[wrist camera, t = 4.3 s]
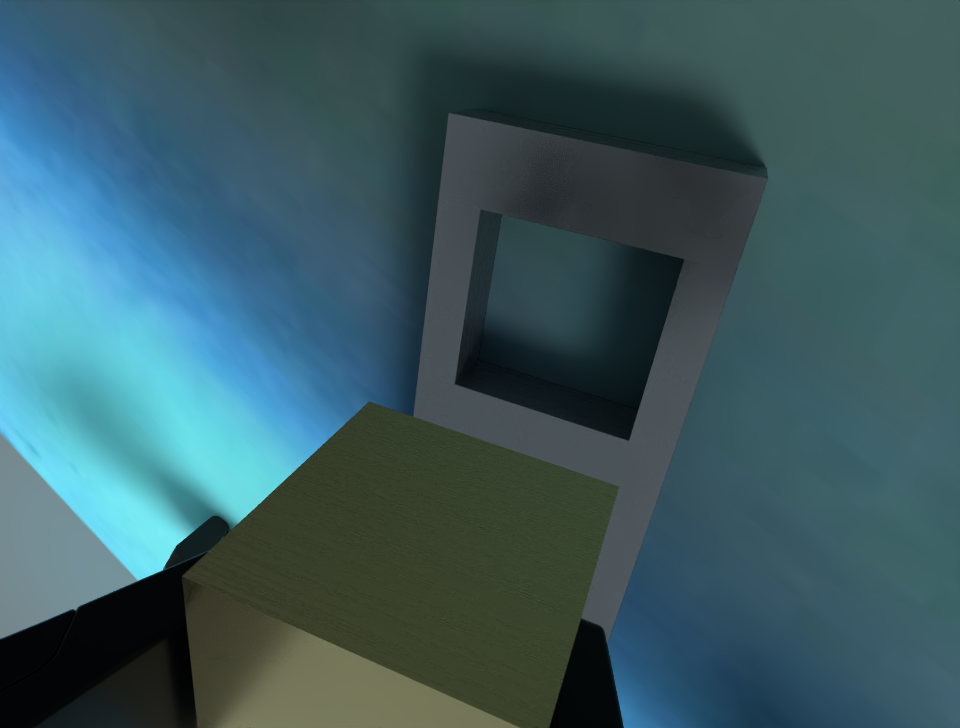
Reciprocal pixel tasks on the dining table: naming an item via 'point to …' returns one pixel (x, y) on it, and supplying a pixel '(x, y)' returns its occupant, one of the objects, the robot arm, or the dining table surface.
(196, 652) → the beige wood block
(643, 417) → the rectangular frame
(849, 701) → the dining table surface
